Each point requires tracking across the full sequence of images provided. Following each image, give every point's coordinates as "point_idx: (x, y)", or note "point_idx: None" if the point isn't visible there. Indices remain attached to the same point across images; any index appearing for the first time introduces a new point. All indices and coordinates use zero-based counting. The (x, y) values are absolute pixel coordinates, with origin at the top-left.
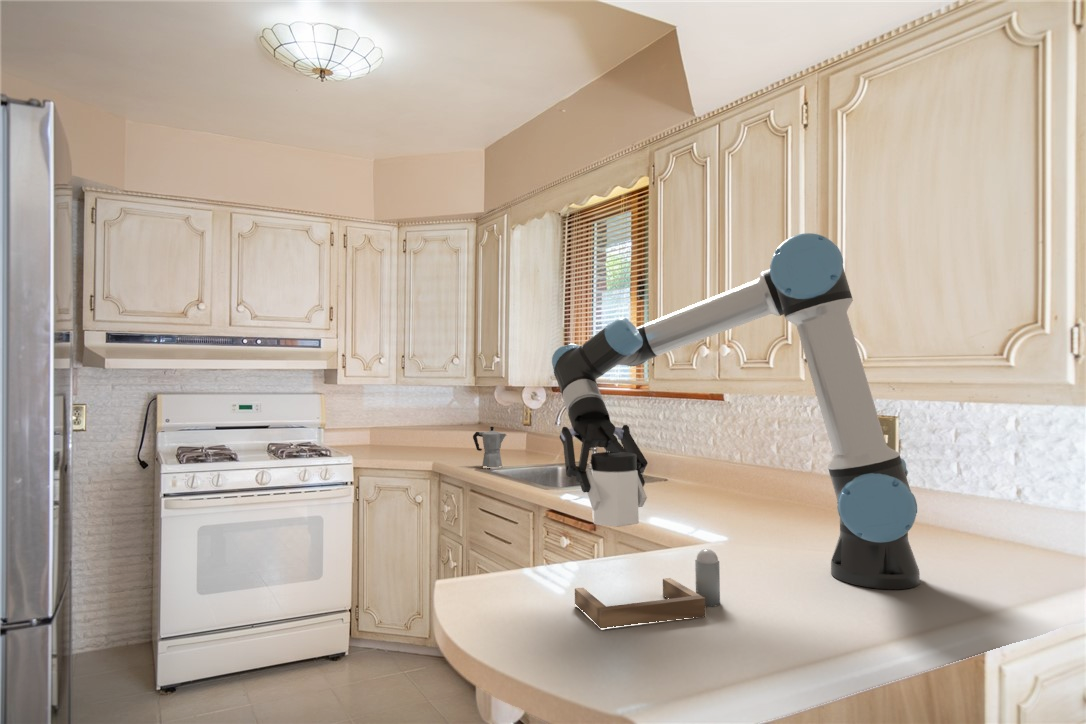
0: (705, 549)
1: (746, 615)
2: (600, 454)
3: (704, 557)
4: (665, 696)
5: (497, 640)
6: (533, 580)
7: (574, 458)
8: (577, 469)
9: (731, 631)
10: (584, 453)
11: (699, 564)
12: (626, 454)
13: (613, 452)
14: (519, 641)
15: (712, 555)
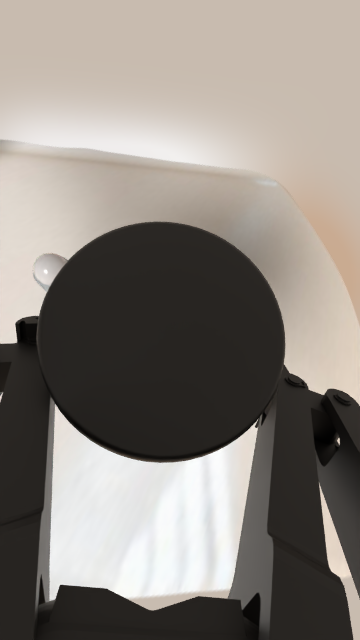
0: (48, 262)
1: (68, 248)
2: (235, 358)
3: (63, 260)
4: (240, 181)
5: (326, 313)
6: (233, 503)
7: (349, 432)
8: (309, 397)
9: (117, 228)
10: (300, 453)
11: None
12: (118, 277)
13: (116, 405)
14: (307, 301)
15: (50, 253)
